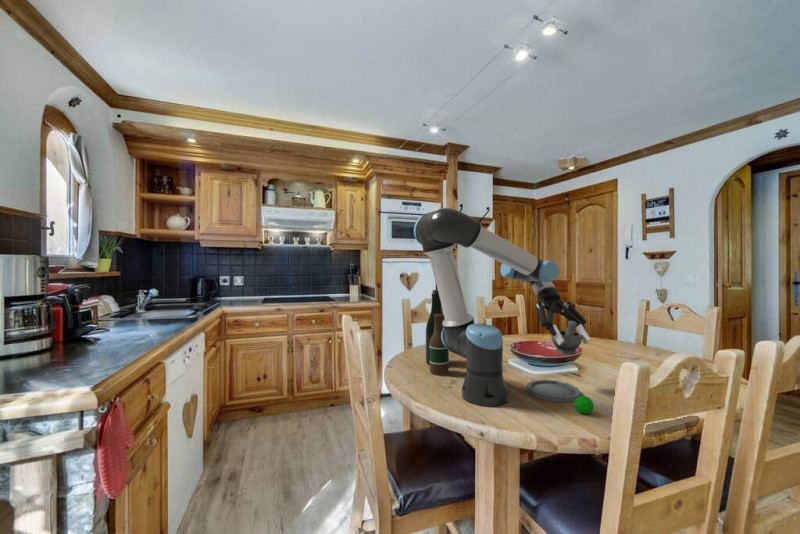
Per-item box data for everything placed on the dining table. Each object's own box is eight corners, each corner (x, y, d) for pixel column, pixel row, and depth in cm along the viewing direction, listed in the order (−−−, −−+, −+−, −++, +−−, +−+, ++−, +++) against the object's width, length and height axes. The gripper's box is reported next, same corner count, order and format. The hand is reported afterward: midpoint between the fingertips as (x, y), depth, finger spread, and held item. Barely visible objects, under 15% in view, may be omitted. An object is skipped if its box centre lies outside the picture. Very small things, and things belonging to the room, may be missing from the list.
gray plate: (568, 406, 103) (568, 402, 103) (518, 392, 115) (518, 387, 115) (587, 392, 114) (587, 388, 114) (540, 380, 126) (540, 376, 126)
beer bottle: (439, 377, 132) (438, 316, 131) (425, 372, 138) (425, 314, 137) (452, 372, 136) (452, 314, 136) (438, 368, 142) (438, 312, 142)
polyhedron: (576, 407, 103) (576, 392, 103) (595, 412, 99) (595, 396, 99) (573, 413, 99) (572, 397, 99) (592, 418, 96) (591, 401, 96)
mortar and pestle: (547, 348, 124) (548, 316, 123) (573, 349, 123) (574, 317, 123) (558, 356, 112) (559, 321, 112) (588, 358, 111) (588, 322, 111)
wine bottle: (446, 359, 155) (445, 288, 155) (451, 366, 145) (450, 290, 144) (424, 360, 155) (423, 289, 154) (427, 367, 144) (426, 290, 144)
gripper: (566, 298, 134) (596, 347, 119) (516, 298, 130) (540, 349, 114) (576, 286, 129) (609, 335, 114) (524, 286, 124) (551, 337, 109)
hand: (574, 342), depth 114 cm, fingers closed on mortar and pestle, 10 cm apart
